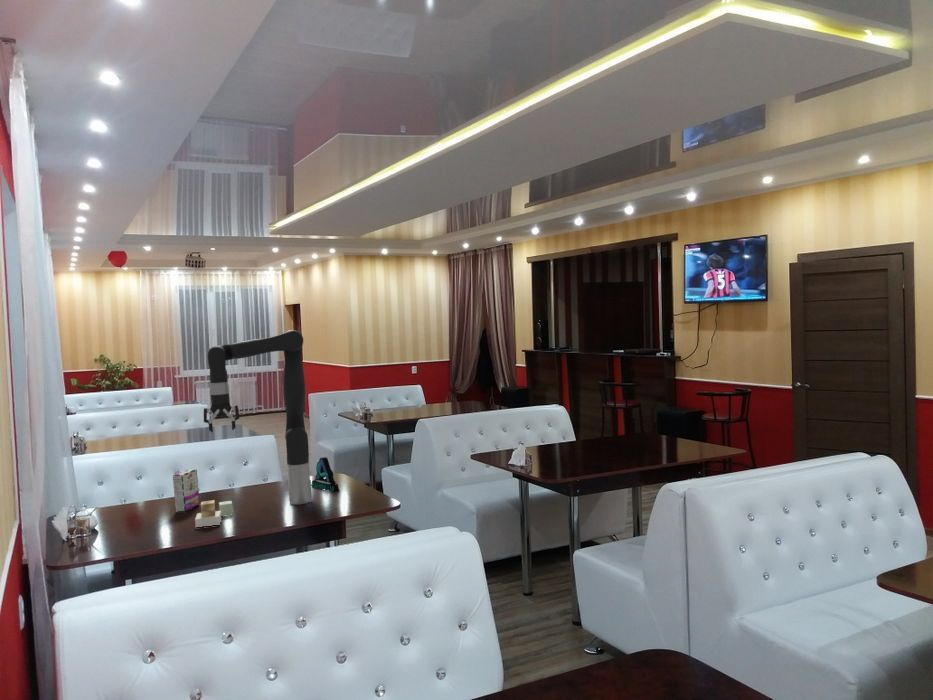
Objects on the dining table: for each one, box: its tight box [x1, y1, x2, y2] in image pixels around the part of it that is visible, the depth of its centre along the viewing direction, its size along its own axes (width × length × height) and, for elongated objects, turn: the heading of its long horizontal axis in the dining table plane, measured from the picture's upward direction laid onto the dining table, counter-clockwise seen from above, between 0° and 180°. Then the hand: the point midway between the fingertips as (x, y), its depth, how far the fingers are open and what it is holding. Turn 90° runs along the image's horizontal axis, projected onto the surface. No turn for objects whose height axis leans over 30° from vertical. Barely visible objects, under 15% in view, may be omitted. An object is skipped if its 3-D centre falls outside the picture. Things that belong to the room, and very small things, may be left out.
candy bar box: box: [172, 468, 201, 513], centre depth 306 cm, size 11×5×16 cm, turn 168°
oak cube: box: [200, 499, 216, 517], centre depth 281 cm, size 5×5×5 cm
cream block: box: [194, 510, 223, 528], centre depth 282 cm, size 9×9×4 cm
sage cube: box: [218, 500, 234, 517], centre depth 294 cm, size 5×5×5 cm
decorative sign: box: [311, 456, 340, 493], centre depth 330 cm, size 19×2×15 cm, turn 46°
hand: (222, 430), depth 300 cm, fingers open, 8 cm apart
